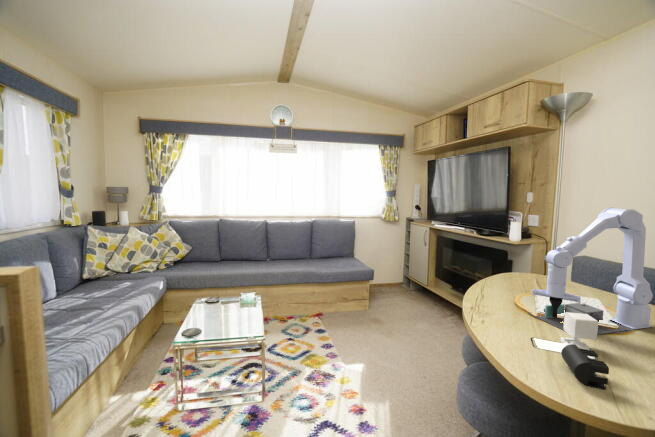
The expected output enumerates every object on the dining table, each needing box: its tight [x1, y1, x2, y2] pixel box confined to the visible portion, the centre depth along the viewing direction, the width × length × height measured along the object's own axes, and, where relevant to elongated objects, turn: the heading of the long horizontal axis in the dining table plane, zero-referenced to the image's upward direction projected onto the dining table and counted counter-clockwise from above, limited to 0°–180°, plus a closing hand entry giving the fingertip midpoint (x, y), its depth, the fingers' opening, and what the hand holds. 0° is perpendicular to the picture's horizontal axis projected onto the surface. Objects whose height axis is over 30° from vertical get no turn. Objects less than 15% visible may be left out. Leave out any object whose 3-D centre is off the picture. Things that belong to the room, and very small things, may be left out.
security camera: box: [560, 312, 598, 350], centre depth 98 cm, size 6×7×10 cm
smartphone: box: [530, 337, 598, 360], centre depth 97 cm, size 8×1×16 cm
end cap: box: [560, 344, 610, 391], centre depth 82 cm, size 10×7×7 cm
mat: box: [527, 312, 632, 336], centre depth 116 cm, size 24×20×1 cm
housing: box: [564, 302, 604, 322], centre depth 116 cm, size 8×9×6 cm
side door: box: [543, 303, 565, 318], centre depth 120 cm, size 2×8×5 cm, turn 101°
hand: (554, 316), depth 117 cm, fingers closed, pressing on side door
